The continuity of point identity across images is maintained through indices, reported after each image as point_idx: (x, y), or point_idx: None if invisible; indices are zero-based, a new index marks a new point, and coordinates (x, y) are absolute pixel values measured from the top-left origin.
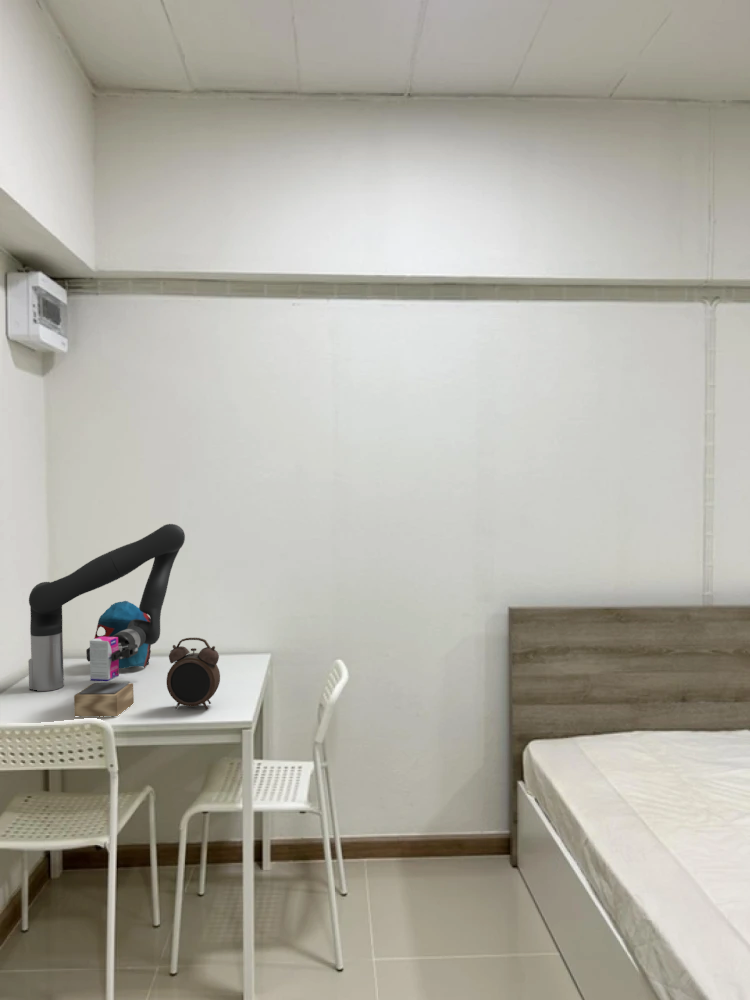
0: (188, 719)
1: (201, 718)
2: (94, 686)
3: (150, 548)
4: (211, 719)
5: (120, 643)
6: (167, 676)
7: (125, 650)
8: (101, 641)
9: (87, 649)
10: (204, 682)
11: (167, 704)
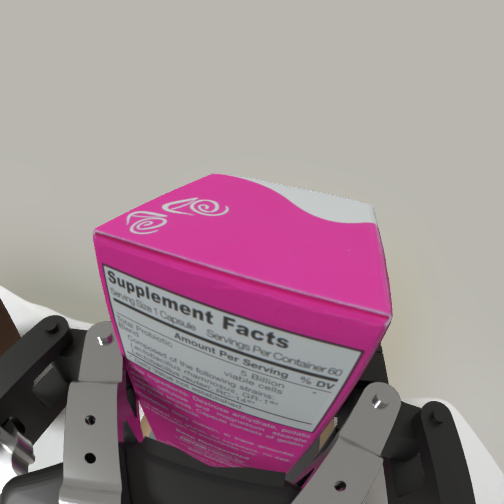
0: (42, 318)
1: (24, 313)
2: (291, 475)
3: None
4: (17, 303)
5: (63, 490)
6: (6, 315)
7: (70, 330)
8: (264, 183)
9: (445, 416)
10: None
11: (37, 440)
